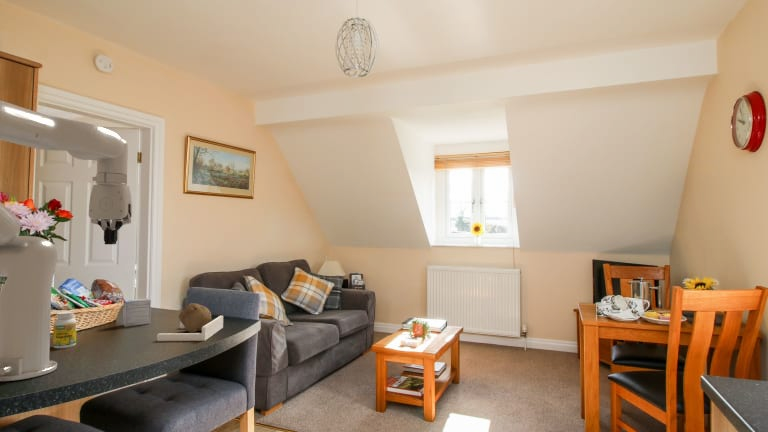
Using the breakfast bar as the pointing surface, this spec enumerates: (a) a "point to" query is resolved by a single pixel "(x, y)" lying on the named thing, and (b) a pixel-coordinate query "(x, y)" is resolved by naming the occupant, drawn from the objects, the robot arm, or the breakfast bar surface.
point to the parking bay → (206, 333)
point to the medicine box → (136, 312)
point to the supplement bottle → (64, 330)
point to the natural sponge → (195, 317)
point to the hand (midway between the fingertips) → (110, 244)
